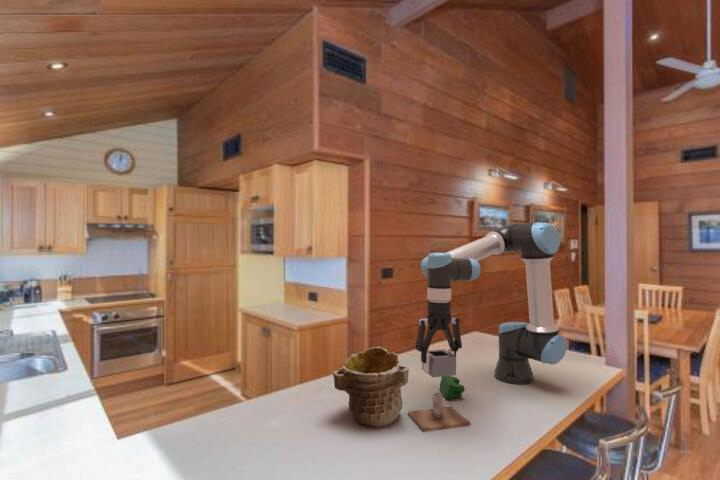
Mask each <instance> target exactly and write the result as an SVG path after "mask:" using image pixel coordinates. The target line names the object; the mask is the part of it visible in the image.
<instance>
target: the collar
mask: <svg viewBox="0 0 720 480" xmlns="http://www.w3.org/2000/svg"><path fill="white" fill-rule="evenodd" d="M427 352H428V353H429V374H428V376H430V377H431V378H440V377H441V378H442V377H443V376H452V377H455V376H457V355H456V356H455V355H453V354H451V353H450V352H448V350H446V349H433V350H432V349H431V350H429V349H428V351H427ZM421 370H423V362H422V361H421Z"/></svg>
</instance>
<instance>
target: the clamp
mask: <svg viewBox="0 0 720 480" xmlns="http://www.w3.org/2000/svg"><path fill="white" fill-rule="evenodd" d="M460 382H461V381H460V379H459V378H458V377H456V376H443V377H441V378H440V383H439V390H440V392H441V394H442V395H443V397H444V399H445V400H450V401H452V399H453V397H455V398H458V399H460V398H461V397H462V394H463V393H464V392H465V388H466V387H465V386H464V385H463V384H460Z"/></svg>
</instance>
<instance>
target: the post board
mask: <svg viewBox="0 0 720 480" xmlns="http://www.w3.org/2000/svg"><path fill="white" fill-rule="evenodd" d="M443 397H444V396H443V394H442V393H439V392H436V393H433V397H432V400H433V401H432V402H433V404H432V405H433V408H428V409H427V408H426V409H419V410H411V411H407V415H408V417H409V418H410V419H411V420H412V421H413V422H414V424H416V426H417V427H418V428H419V429H420V430H421V431H422V433H424V432H431V431H438V430H444V429H445V430H447V429H453V428H462V427H467V426H471V422H470V420H468V419H467V418H466V417H465V416H463V414H461V413H460V412H459V411H458V410H456V409H455V408H454V407H453V406H452V405H450V406H444V405H443V404H444V398H443Z"/></svg>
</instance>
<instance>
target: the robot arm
mask: <svg viewBox="0 0 720 480" xmlns="http://www.w3.org/2000/svg"><path fill="white" fill-rule="evenodd" d="M560 245H561V238H560V233H559V232H558V230H557V228H556V227H555V226H554V225H553V224H552V223H548V222H540V221H539V222H538V221H537V222H524V223H523V222H521V223H517V222H516V223H511V224H507V225H504V226H502V227H500V228H497V229H494V230H492V231H490V232H488V233H487V234H486V235H485V236H484V237H481V238H478V239H475V240H474V241H472V242H470V243H467V244H464V245H462V246H458V247H456V248H454V249H452V250H449V251H447V252H431V253H429V254H428V255H427V256H426V257H424V258H423V259H422V260H421V264H420V269H421V272H422V275H424V276H426V277H427V292H426V293H427V300H428V301H427V303H426V310H427V311H426V312H427V315H426V318H419V319H418V320H417V323H418V329H417V336H416V341H415V349H416V351H417V352H420V361H421V363H422V362H423V372H424V373H425V374H427V375H429V353H428V352H427V351H429V348H430V345H431V343H432V341H433V337H434V336H435V334H436V333H437V331H442V332H443V333H444V336H445V338H446V339H445V340H446V341H447V343H448V347H449V348H448V349H447V351H448V352H450V353H451V354H453V355H455V356H456V357H457V352H459V349H462V347H463V344H462V338H461V330H460V321H461V319H460V318H458V317H457V316H452V315H451V313H452V302H451V300H452V282H470V281H474V280H477V279H478V278H479V276H480V275H481V274H480V273H481V265H480V263H479V262H478V261H480V260H483V259H485V258H488V257H490V256H492V255H497V256H498V255H501V254H504V253H520V260H522V261H523V262H524V264H525V276H526V277H525V278H526V292H527V303H528V306H527V307H528V315H529V317H528V318H529V323H528V322H523V321H512V322H511V321H509V322H503V323H501V324H499V326H498V333H497V334H498V360H497V362H496V365H495V368H494V371H493V372H494V377H495V379H497V380H498V381H501V382H504V383H508V384H513V385H527V384H530V383H533V381H534V374H533V371H532V370H533V369H532V368H531V365H530V360H535V361H537V362H540V363H542V364H547V365H557V364H559V363H560V362H561V361H562V360H563V358H564V357H565V355H566V353H567V348H568V342H567V339H566V337H565V336H564V335H562V334H560V329H559V326H558V325H557V324H556V323H555V319H554V304H553V290H552V289H553V288H552V287H553V286H552V276H551V260H553V259H554V257H555V256H554V254H556V253H557V252H558V251H559V249H560V248H559V247H560ZM450 323H451V328H452V333H451V329H450V326H449V325H450ZM427 324H428V328H427V332H426V326H427ZM452 334H453V335H452ZM529 359H530V360H529Z"/></svg>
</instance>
